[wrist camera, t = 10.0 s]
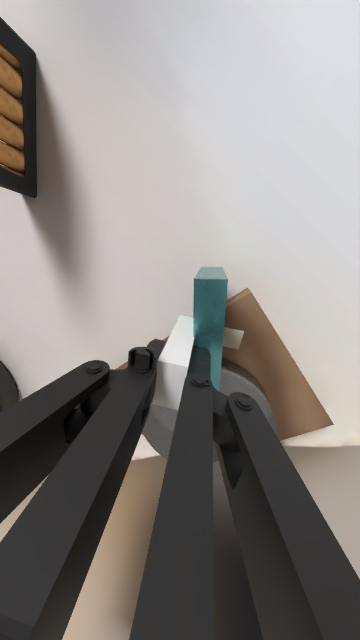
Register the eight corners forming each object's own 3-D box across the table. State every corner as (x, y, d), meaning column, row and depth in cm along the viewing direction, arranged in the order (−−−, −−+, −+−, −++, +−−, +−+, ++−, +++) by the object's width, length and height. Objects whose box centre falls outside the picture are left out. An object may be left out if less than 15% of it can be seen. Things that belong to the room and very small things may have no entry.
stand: (179, 457, 30) (177, 473, 28) (104, 375, 27) (95, 386, 25) (324, 410, 23) (335, 426, 21) (247, 287, 19) (251, 292, 17)
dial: (259, 456, 24) (276, 534, 17) (152, 440, 26) (131, 504, 19) (297, 267, 16) (357, 280, 9) (136, 266, 18) (92, 277, 11)
